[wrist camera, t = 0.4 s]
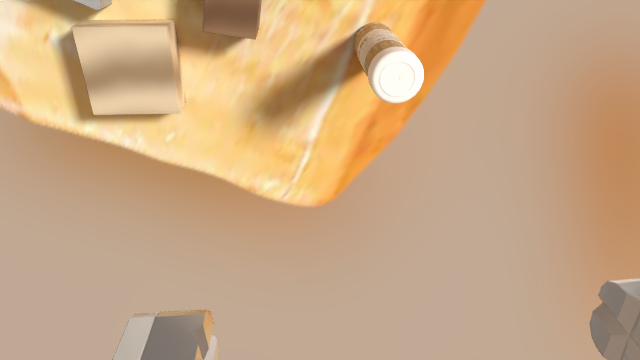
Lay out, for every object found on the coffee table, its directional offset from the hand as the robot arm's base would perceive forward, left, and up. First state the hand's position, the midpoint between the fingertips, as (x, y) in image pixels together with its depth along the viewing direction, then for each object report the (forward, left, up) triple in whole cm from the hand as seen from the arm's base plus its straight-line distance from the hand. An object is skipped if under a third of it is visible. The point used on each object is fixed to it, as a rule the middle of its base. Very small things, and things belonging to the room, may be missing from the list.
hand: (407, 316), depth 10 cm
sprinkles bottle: (+3, +7, -44) cm, 45 cm away
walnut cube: (+1, -8, -44) cm, 45 cm away
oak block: (+9, -18, -44) cm, 49 cm away
